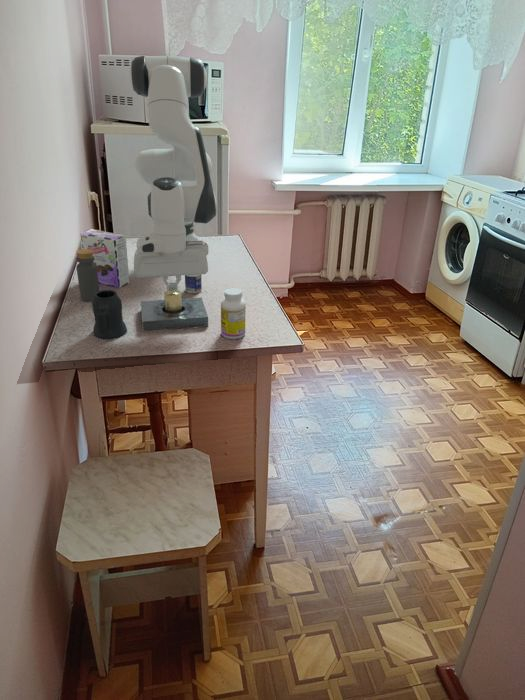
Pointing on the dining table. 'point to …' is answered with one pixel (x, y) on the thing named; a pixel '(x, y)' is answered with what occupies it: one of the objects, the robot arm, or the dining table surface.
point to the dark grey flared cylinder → (108, 315)
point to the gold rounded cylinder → (173, 301)
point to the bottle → (87, 275)
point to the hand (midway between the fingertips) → (172, 289)
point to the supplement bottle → (233, 314)
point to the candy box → (108, 256)
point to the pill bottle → (193, 283)
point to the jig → (173, 315)
